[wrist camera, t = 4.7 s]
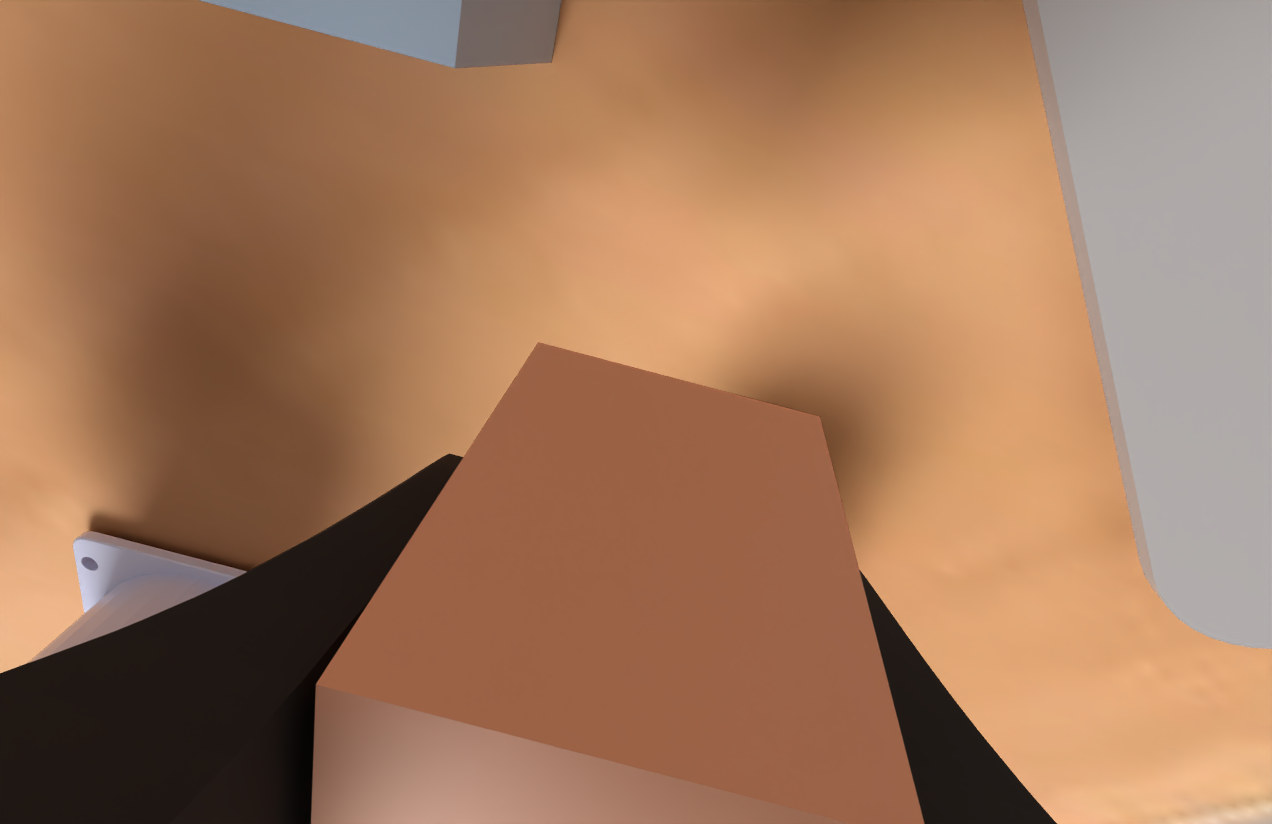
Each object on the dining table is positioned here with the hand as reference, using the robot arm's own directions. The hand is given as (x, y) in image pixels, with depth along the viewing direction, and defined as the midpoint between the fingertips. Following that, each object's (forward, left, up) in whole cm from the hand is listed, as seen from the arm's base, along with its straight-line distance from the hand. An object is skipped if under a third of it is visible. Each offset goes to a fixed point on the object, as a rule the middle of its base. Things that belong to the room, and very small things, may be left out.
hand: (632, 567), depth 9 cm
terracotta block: (0, 0, -2) cm, 2 cm away
